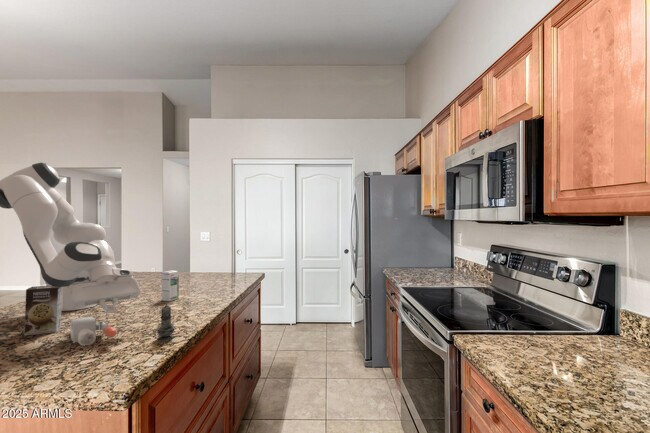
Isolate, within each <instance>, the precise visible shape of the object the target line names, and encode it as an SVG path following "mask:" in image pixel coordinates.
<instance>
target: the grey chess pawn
mask: <svg viewBox="0 0 650 433" xmlns="http://www.w3.org/2000/svg"><path fill="white" fill-rule="evenodd" d="M171 310H172V308H171V306H168V303H165V306H163V307H162V308H161V316H160V319H161V320H160V326H158V327H157V328H156V331H157V335H158V337H157V339H156V340H157V342H167V341H172V340H173V339H175V336H174V335H172V334H173V333H174V331H175V329H176V326H175V325H172V317H173V315H171V314H172V311H171Z"/></svg>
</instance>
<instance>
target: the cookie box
mask: <svg viewBox="0 0 650 433" xmlns="http://www.w3.org/2000/svg"><path fill="white" fill-rule="evenodd" d="M61 303H62V287H55V286H52V285H40V286H38V285H37V286H31V287H28V288H27V289H26V290H25V310H24V315H25V316H24V334H23V335H24V336H30V335H31V336H32V335H40V334H41V335H42V334H50V333H57V332H58V331H59V330H60V329H61V327H62V322H61V321H62V311H61Z"/></svg>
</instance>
